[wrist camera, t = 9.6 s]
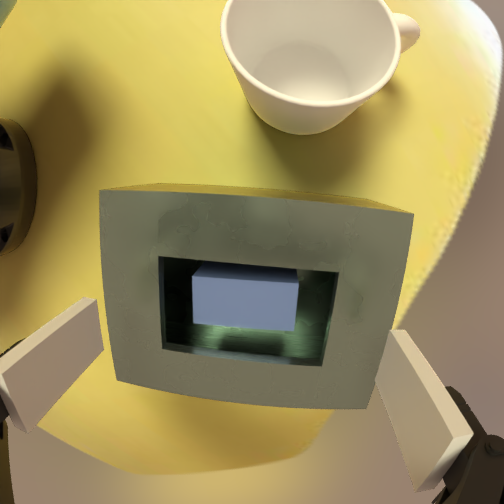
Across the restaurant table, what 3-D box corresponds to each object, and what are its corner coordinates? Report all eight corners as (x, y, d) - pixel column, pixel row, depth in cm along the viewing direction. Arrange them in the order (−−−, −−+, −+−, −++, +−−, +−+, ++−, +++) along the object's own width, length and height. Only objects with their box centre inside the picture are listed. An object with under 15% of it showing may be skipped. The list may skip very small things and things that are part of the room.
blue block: (213, 288, 24) (193, 323, 18) (213, 251, 23) (192, 276, 18) (290, 294, 24) (294, 331, 18) (294, 256, 23) (298, 283, 17)
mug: (368, 20, 19) (409, -48, 9) (410, 108, 20) (482, 76, 10) (229, 58, 20) (196, -10, 10) (268, 152, 22) (259, 133, 12)
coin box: (160, 323, 26) (116, 380, 18) (159, 183, 23) (99, 190, 15) (343, 341, 25) (366, 408, 17) (367, 199, 22) (414, 213, 14)
